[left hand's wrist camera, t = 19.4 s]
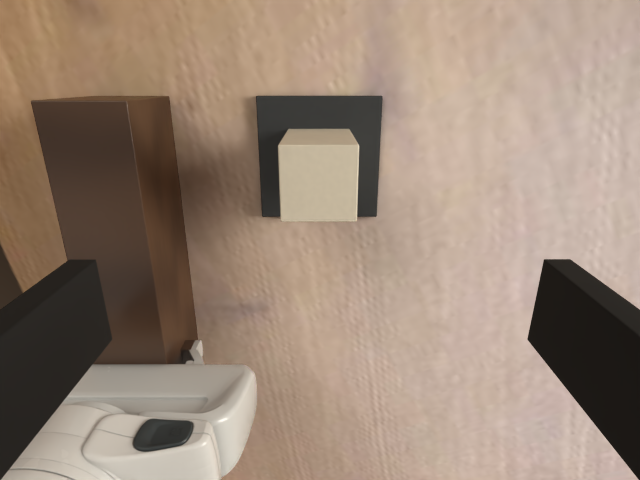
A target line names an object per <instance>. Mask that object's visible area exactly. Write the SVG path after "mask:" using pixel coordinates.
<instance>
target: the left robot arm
mask: <svg viewBox="0 0 640 480" xmlns="http://www.w3.org/2000/svg"><path fill="white" fill-rule="evenodd" d="M111 341H112V335H111V330H110V325H109V320H108V315H107V311H106V306H105V301H104V296H103V291H102V287H101V282H100V277H99V272H98V267H97V262H96V259H70V260H68V261H67V262H66V263H64V264H63V265H61V266H60V267H59V268H57V269H56V270H55V271H53V272H52V273H50V274H49V275H48V276H46V277H45V278H43V279H42V280H41V281H39V282H38V283H37V284H35V285H34V286H32V287H31V288H30V289H28V290H27V291H25V292H24V293H23V294H21V295H20V296H19V297H17V298H16V299H14V300H13V301H12V302H10V303H9V304H8V305H6V306H5V307H3V308H2V309H1V310H0V480H1V479H2V478H3V477H4V475H5V474H6V473H7V472H8V470H9V469H10V468H11V466H12V465H13V464H14V463H15V461H16V460H17V459H18V458H19V456H20V455H21V454H22V453H23V451H24V450H25V449H26V448H27V446H28V445H29V444H30V443H31V441H32V440H33V439H34V438H35V436H36V435H37V434H38V433H39V431H40V430H41V429H42V427H43V426H44V425H45V424H46V422H47V421H48V420H49V419H50V417H51V416H52V415H53V414H54V412H55V411H56V410H57V409H58V407H59V406H60V405H61V404H62V402H63V401H64V400H65V399H66V397H67V396H68V395H69V394H70V392H71V391H72V390H73V388H74V387H75V386H76V385H77V383H78V382H79V381H80V380H81V378H82V377H83V376H84V375H85V373H86V372H87V371H88V370H89V368H90V367H91V366H92V365H93V363H94V362H95V361H96V360H97V358H98V357H99V356H100V355H101V353H102V352H103V351H104V349H105V348H106V347H107V346H108V344H109V343H110V342H111ZM528 341H529V342H530V343H531V344H532V346H533V347H534V348H535V349H536V351H537V352H538V353H539V355H540V356H541V357H542V358H543V360H544V361H545V362H546V363H547V365H548V366H549V367H550V368H551V370H552V371H553V372H554V373H555V375H556V376H557V377H558V378H559V380H560V381H561V382H562V383H563V385H564V386H565V387H566V388H567V390H568V391H569V392H570V394H571V395H572V396H573V397H574V399H575V400H576V401H577V402H578V404H579V405H580V406H581V407H582V409H583V410H584V411H585V412H586V414H587V415H588V416H589V417H590V419H591V420H592V421H593V422H594V424H595V425H596V426H597V427H598V429H599V430H600V431H601V433H602V434H603V435H604V436H605V438H606V439H607V440H608V441H609V443H610V444H611V445H612V446H613V448H614V449H615V450H616V451H617V453H618V454H619V455H620V456H621V458H622V459H623V460H624V461H625V463H626V464H627V465H628V466H629V468H630V469H631V470H632V472H633V473H634V474H635V475H636V477H637V478H638V479H639V480H640V310H639V309H638V308H637V307H635V306H634V305H632V304H631V303H630V302H628V301H627V300H626V299H624V298H623V297H621V296H620V295H619V294H617V293H616V292H615V291H613V290H612V289H610V288H609V287H608V286H606V285H605V284H603V283H602V282H601V281H599V280H598V279H597V278H595V277H594V276H592V275H591V274H590V273H588V272H587V271H585V270H584V269H583V268H581V267H580V266H579V265H577V264H576V263H574V262H573V261H572V260H570V259H544V262H543V267H542V272H541V277H540V282H539V287H538V291H537V296H536V301H535V306H534V311H533V315H532V320H531V325H530V330H529V335H528Z"/></svg>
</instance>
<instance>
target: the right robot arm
mask: <svg viewBox="0 0 640 480" xmlns="http://www.w3.org/2000/svg"><path fill="white" fill-rule="evenodd" d="M180 351H181V357H182V364H93V365H92V366H91V367H90V368H89V370H88V371H87V372H86V373H85V375H84V376H83V377H82V378H81V380H80V381H79V382H78V383H77V385H76V386H75V387H74V388H73V390H72V391H71V392H70V394H69V395H68V396H67V397H66V399H65V400H64V401H63V402H62V404H61V405H60V406H59V407H58V409H57V410H56V411H55V412H54V414H53V415H52V416H51V417H50V419H49V420H48V421H47V422H46V424H45V425H44V426H43V427H42V429H41V430H40V431H39V433H38V434H37V435H36V436H35V438H34V439H33V440H32V441H31V443H30V444H29V445H28V446H27V448H26V449H25V450H24V451H23V453H22V454H21V455H20V456H19V458H18V459H17V460H16V461H15V463H14V464H13V465H12V466H11V468H10V469H9V470H8V472H7V473H6V474H5V475H4V477H3V478H2V479H1V480H221V478H222V477H223V476H225V475H226V474H228V473H229V472H230V471H231V470H232V469H233V468H234V466H235V465H236V464H237V462H238V460H239V459H240V457H241V455H242V452H243V450H244V447H245V445H246V442H247V439H248V436H249V433H250V430H251V427H252V424H253V420H254V416H255V412H256V406H257V384H256V376H255V373H254V372H253V370H252V369H251V368H250V367H249V366H247V365H245V364H204V360H203V359H202V356H203V347H202V340H185V342H184V344H183V345H182V347H181V349H180Z"/></svg>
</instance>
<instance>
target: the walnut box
mask: <svg viewBox="0 0 640 480" xmlns="http://www.w3.org/2000/svg"><path fill="white" fill-rule="evenodd" d="M31 104H32V108H33V112H34V117H35V121H36V125H37V130H38V134H39V138H40V143H41V147H42V151H43V156H44V160H45V165H46V169H47V173H48V178H49V182H50V186H51V191H52V195H53V199H54V204H55V208H56V212H57V217H58V221H59V225H60V230H61V234H62V238H63V243H64V247H65V251H66V256H67V260H70V259H96V262H97V267H98V272H99V277H100V282H101V287H102V291H103V296H104V301H105V306H106V311H107V315H108V320H109V325H110V330H111V335H112V341H111V342H110V343H109V344H108V346H107V347H106V348H105V349H104V351H103V352H102V353H101V355H100V356H99V357H98V358H97V360H96V361H95V362H94V363H93V364H182V357H181V351H180V349H181V347H182V345H183V344H184V342H185V340H198V336H197V327H196V319H195V311H194V302H193V294H192V286H191V277H190V269H189V260H188V252H187V244H186V235H185V227H184V219H183V210H182V202H181V193H180V185H179V177H178V168H177V160H176V152H175V143H174V135H173V126H172V118H171V110H170V101H169V96H89V97H75V98H61V99H47V100H34V101H31Z"/></svg>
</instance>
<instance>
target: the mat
mask: <svg viewBox="0 0 640 480" xmlns="http://www.w3.org/2000/svg"><path fill="white" fill-rule="evenodd" d="M256 103H257V122H258V142H259V162H260V181H261V201H262V216H263V217H281V216H280V189H279V162H278V145H279V143H280V142H281V140H282V138H283V137H284V135H285V134H286V132H287V130H288V129H350V131H351V133H352V134H353V136H354V138H355V139H356V141H357V143H358V145H359V168H358V200H357V217H376V214H377V195H378V175H379V155H380V135H381V115H382V96H256Z"/></svg>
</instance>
